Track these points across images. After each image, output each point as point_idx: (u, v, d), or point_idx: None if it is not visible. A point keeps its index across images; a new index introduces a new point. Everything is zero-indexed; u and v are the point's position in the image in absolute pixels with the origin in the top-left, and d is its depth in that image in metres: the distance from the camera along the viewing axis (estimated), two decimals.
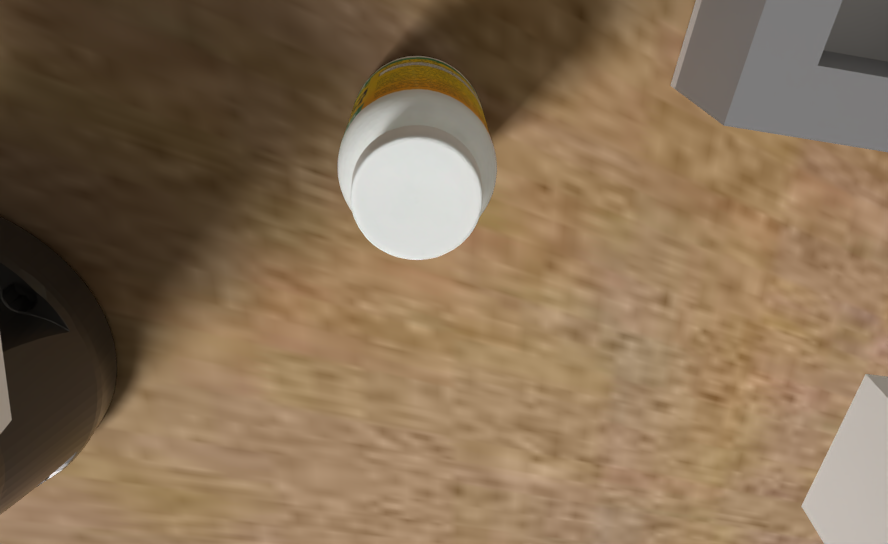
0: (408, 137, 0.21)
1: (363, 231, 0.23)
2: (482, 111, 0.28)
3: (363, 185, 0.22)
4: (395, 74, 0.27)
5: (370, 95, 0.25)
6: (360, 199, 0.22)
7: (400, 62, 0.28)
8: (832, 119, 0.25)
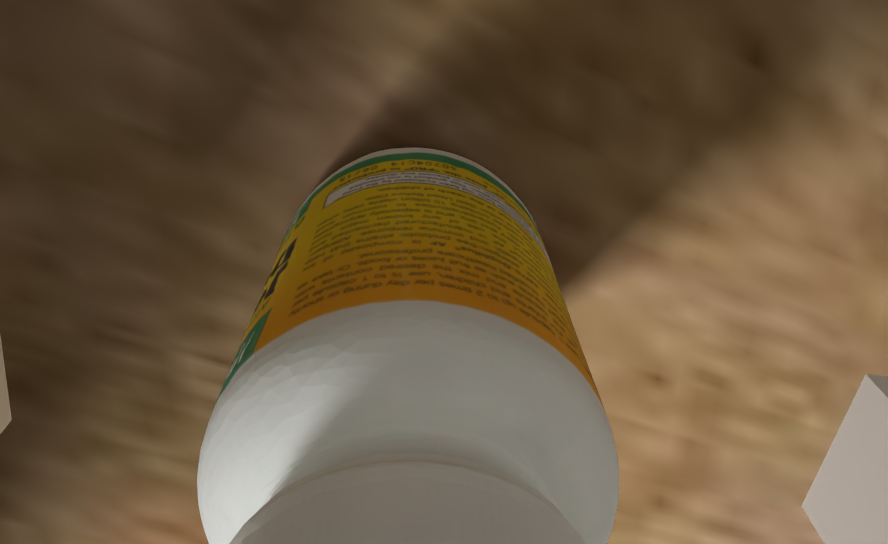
0: None
1: None
2: (557, 282, 0.12)
3: None
4: (356, 215, 0.11)
5: (289, 287, 0.10)
6: None
7: (373, 169, 0.13)
8: None
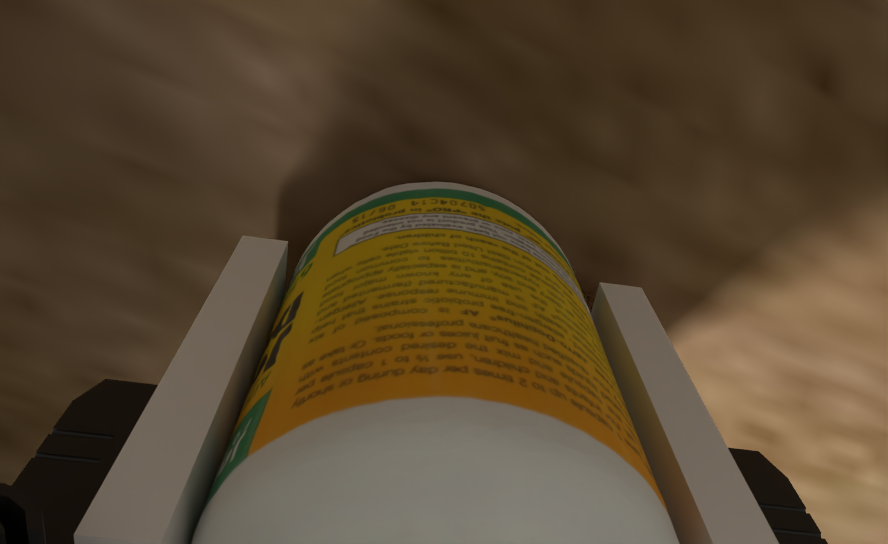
0: None
1: None
2: (601, 343, 0.11)
3: None
4: (372, 271, 0.10)
5: (292, 363, 0.08)
6: None
7: (390, 208, 0.11)
8: None
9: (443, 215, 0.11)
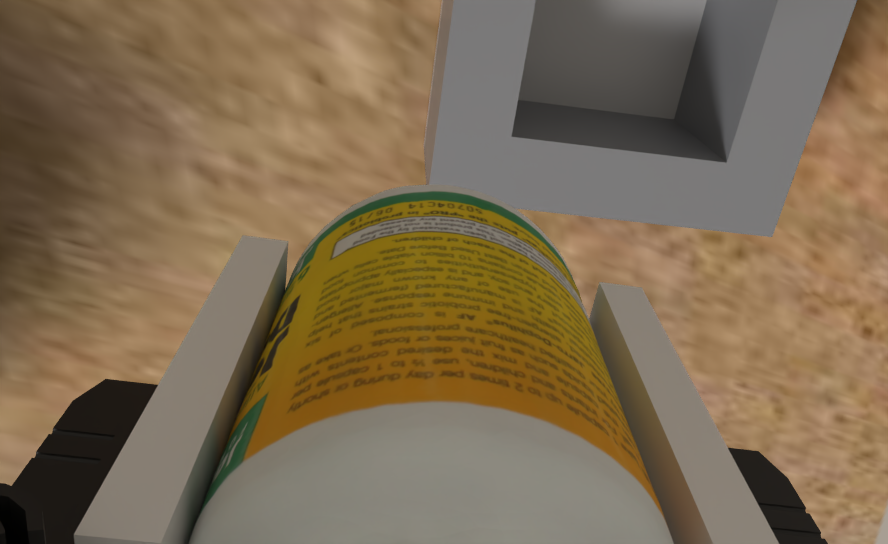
0: None
1: None
2: (598, 346, 0.11)
3: None
4: (369, 274, 0.10)
5: (289, 367, 0.08)
6: None
7: (388, 211, 0.11)
8: (538, 188, 0.24)
9: (440, 218, 0.11)
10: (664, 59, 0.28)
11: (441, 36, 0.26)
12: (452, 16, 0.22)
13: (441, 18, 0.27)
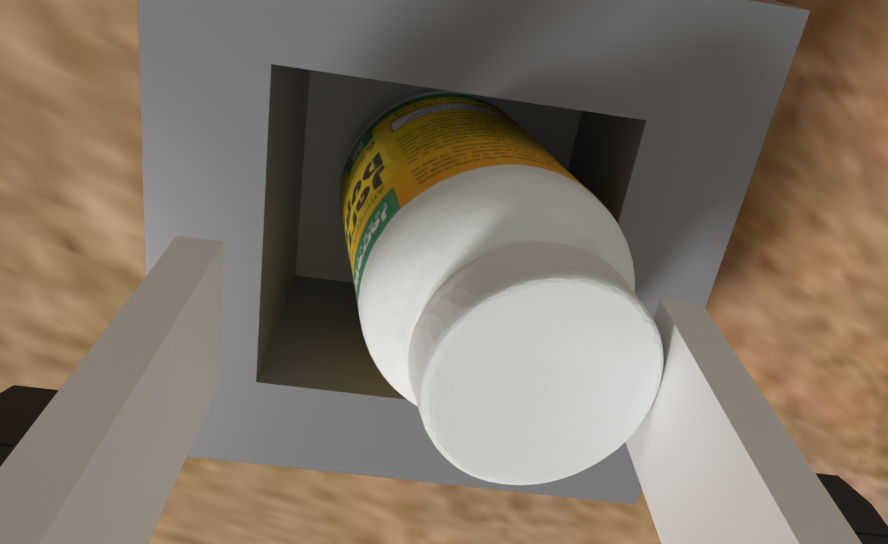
0: (538, 279, 0.11)
1: (444, 452, 0.12)
2: None
3: (448, 373, 0.11)
4: (430, 130, 0.16)
5: (402, 173, 0.14)
6: (440, 398, 0.11)
7: (420, 104, 0.18)
8: (304, 443, 0.18)
9: (458, 104, 0.17)
10: None
11: None
12: (146, 233, 0.15)
13: None
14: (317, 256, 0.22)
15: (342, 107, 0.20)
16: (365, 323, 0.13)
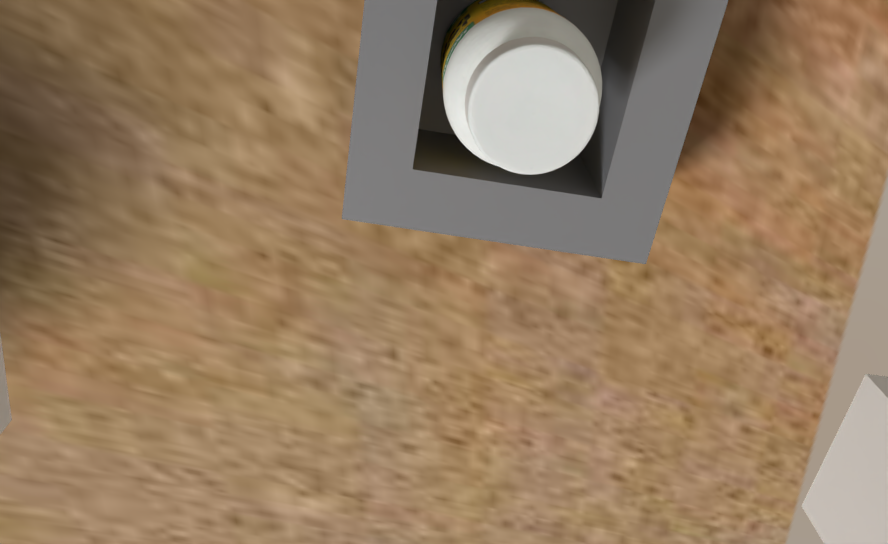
0: (535, 44, 0.21)
1: (476, 139, 0.23)
2: None
3: (484, 90, 0.22)
4: (500, 0, 0.27)
5: (479, 15, 0.25)
6: (478, 105, 0.22)
7: None
8: (438, 214, 0.28)
9: None
10: None
11: None
12: (358, 67, 0.26)
13: None
14: (434, 115, 0.32)
15: (458, 9, 0.30)
16: (446, 87, 0.24)
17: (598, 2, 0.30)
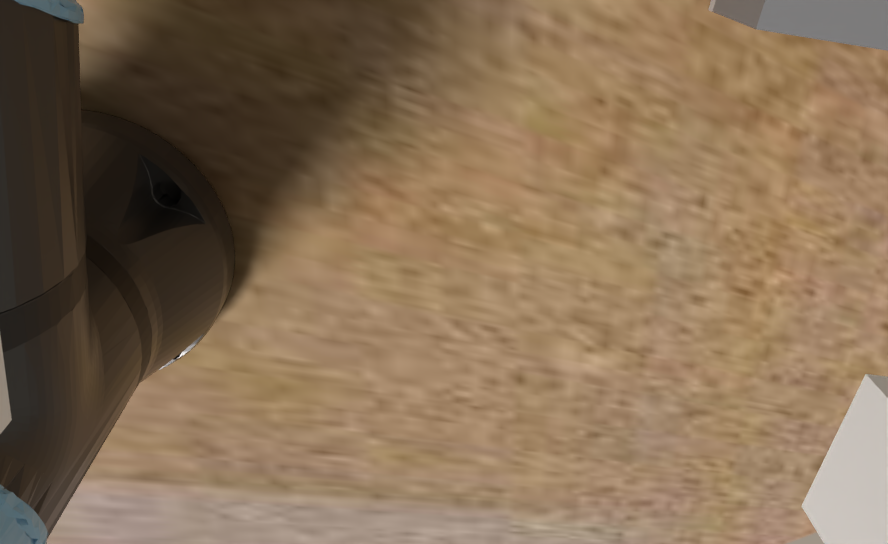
0: None
1: None
2: None
3: None
4: None
5: None
6: None
7: None
8: (845, 23, 0.31)
9: None
10: None
11: None
12: None
13: None
14: None
15: None
16: None
17: None
